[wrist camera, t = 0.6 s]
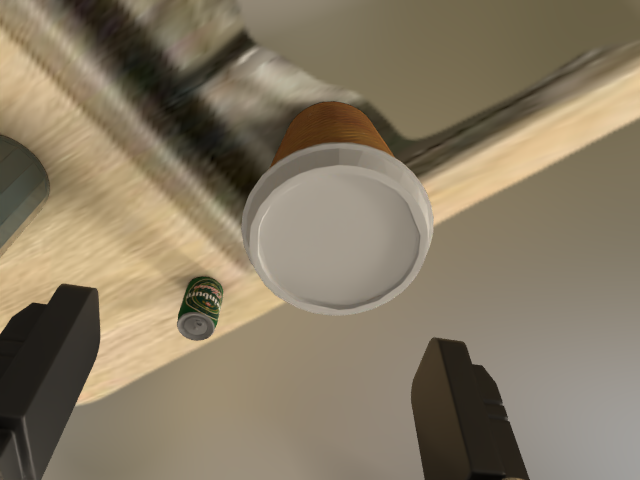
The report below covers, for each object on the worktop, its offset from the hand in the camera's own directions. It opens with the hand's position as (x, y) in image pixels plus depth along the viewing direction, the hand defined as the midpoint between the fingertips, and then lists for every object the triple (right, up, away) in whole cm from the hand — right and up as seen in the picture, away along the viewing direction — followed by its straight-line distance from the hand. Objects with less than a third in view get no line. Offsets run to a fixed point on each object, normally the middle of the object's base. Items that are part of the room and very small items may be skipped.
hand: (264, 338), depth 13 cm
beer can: (-8, -1, +29) cm, 30 cm away
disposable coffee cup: (+2, +9, +23) cm, 25 cm away
